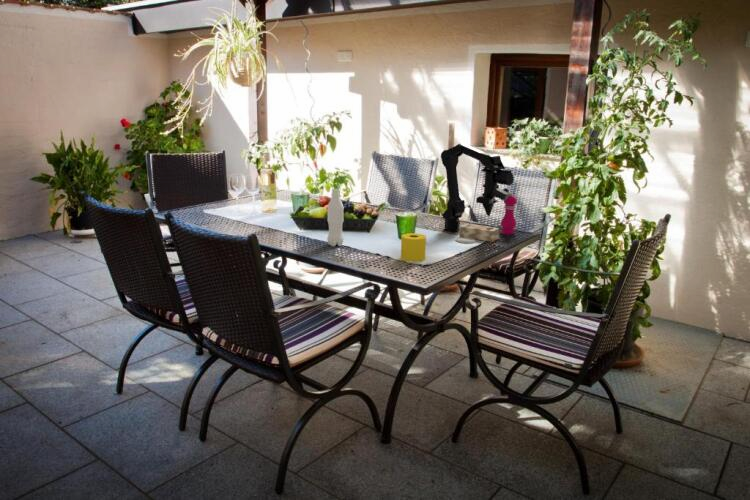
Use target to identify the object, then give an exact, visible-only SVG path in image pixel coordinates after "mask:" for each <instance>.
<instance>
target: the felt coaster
mask: <svg viewBox="0 0 750 500" xmlns="http://www.w3.org/2000/svg"><path fill="white" fill-rule="evenodd" d="M476 240H477V239H473V238H468V237H460V236H459V237H457V238H456V239H455V242H457V243H461V244H473V243H474V242H475V243H476Z"/></svg>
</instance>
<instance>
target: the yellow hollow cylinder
mask: <svg viewBox="0 0 750 500" xmlns="http://www.w3.org/2000/svg"><path fill="white" fill-rule="evenodd" d="M400 240H401V242H400V245H401V246H400V248H401V249H400V259H401V260H402V261H404V262H409V261H411V263H417V261H419V262H423V261H425V260H426V244H427V243H426V242H427V236H426V235H424V234H422V233H416V232H415V233H413V232H412V233H411V232H410V233H404V234H402V235H401V238H400Z"/></svg>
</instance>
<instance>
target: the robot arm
mask: <svg viewBox="0 0 750 500" xmlns="http://www.w3.org/2000/svg"><path fill="white" fill-rule="evenodd" d="M463 155H465V156H467V157H470V158H471V159H474V160H477V161H479V162H480V164H481V165H482V166H484V167H483V168H482V169H481V170H480V171H481V172H483V173H484V184H482V188H483V192H482V195H479V196H477V197H476V201H475V202H476V204H482V206H483V209H484V212H485V214H486V216H487V217H490V216H491V215H492V211H493V208H494V205H495V204H496V203H498V202H499V200H497V199H496V198H498V199H500V200H501V201H503V202H504V200H506V199H507V197H508V196H509V193H510V191H509V190H510V189H509V188H507V187H505V188H500V185H506V186H511V185H512V184H513V182H514V179H515V178H514V177H515V176H514V174H513V173H512V169H506V168H505V166H504V163H503V161H502V159H501V156H500V155H499V154H496V153H490V152H485V151H482V150H481V149H478V148H475V147H473V146H471V145H469V144H467V143H465V142H464V143H458V144H456V145H455V146H453V147H451V148H448V149H444V150H443V151H442V152H441V153H440V161H441V162H442V165H443V167H444V169H445V172H446V179H447V187H448V188H447V190H448V201H447V203H446V210H445V211H444V212H443V213H442V219H444V228H443V229H442V230H443V231H446V232H451V233H452V232H453V233H456V232H458V231H460V226H461V221H460V218H462V217H463V214H464V213H465V211H466V210H465V209H466V205H465V204H466V203H465V199H463V200H462V199H461V196H460V189H459V180H458V171H457V167H458V164H459V157H461V156H463Z"/></svg>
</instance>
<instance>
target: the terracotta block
mask: <svg viewBox="0 0 750 500" xmlns="http://www.w3.org/2000/svg"><path fill="white" fill-rule="evenodd" d="M474 225H475V224H474ZM474 225H470V226H468V227H471V228H478V229H485V230H489V227H490V226H488V227H482V226H483V225H481V226H474Z"/></svg>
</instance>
